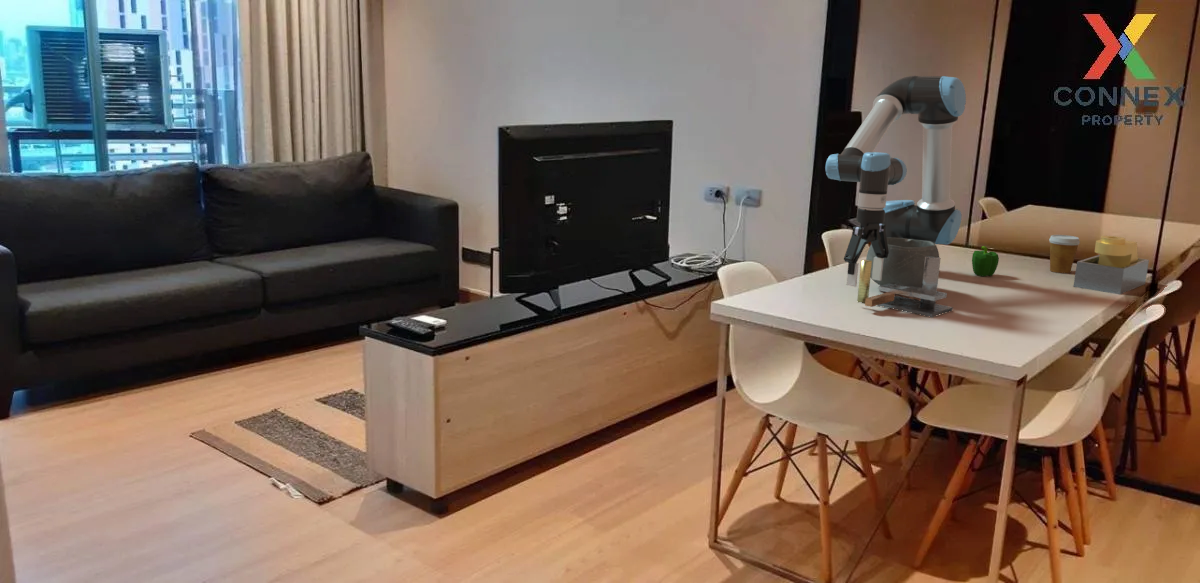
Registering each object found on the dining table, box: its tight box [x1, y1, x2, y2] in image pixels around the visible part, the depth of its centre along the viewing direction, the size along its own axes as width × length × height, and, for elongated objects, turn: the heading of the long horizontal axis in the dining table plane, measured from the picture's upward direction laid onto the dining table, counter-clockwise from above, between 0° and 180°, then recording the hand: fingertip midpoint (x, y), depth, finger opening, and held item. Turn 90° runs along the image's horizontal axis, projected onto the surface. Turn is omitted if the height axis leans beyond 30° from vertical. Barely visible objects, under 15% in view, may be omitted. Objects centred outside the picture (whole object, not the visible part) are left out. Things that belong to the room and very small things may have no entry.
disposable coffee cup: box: [1048, 234, 1081, 274], centre depth 316 cm, size 10×10×12 cm
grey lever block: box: [864, 256, 954, 318], centre depth 255 cm, size 18×22×15 cm
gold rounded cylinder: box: [856, 259, 872, 304], centre depth 264 cm, size 3×3×12 cm
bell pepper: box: [971, 245, 1000, 277], centre depth 307 cm, size 8×8×10 cm
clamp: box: [1094, 235, 1139, 268], centre depth 297 cm, size 20×9×16 cm, turn 134°
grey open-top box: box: [1073, 254, 1150, 295], centre depth 297 cm, size 14×24×8 cm, turn 134°
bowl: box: [865, 237, 940, 288], centre depth 280 cm, size 21×21×15 cm
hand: (864, 282), depth 264 cm, fingers open, 13 cm apart
